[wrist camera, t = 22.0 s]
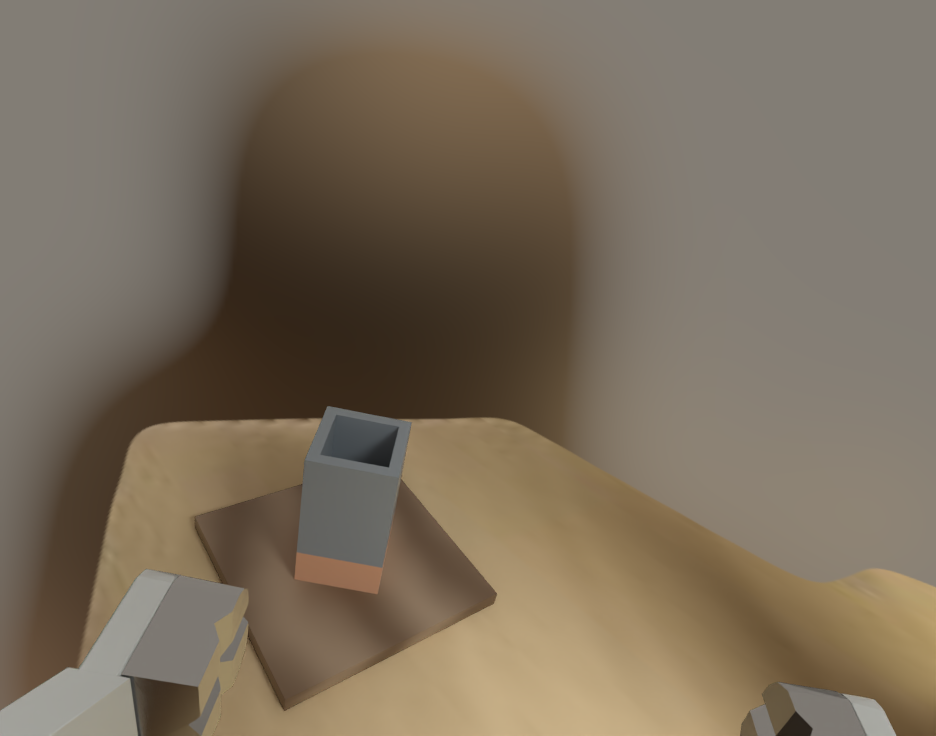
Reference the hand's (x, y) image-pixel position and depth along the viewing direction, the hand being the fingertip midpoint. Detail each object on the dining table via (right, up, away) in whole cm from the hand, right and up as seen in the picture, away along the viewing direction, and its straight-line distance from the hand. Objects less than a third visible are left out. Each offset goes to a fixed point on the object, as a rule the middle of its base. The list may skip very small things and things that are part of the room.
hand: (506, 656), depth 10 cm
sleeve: (-9, -8, +34) cm, 36 cm away
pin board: (-9, -9, +35) cm, 37 cm away
